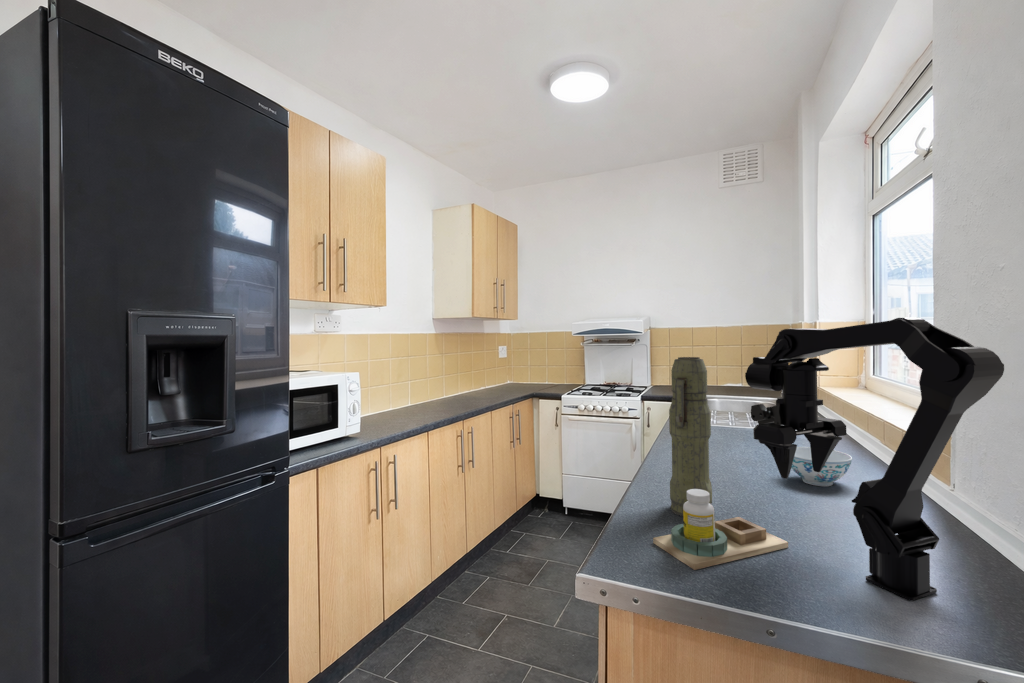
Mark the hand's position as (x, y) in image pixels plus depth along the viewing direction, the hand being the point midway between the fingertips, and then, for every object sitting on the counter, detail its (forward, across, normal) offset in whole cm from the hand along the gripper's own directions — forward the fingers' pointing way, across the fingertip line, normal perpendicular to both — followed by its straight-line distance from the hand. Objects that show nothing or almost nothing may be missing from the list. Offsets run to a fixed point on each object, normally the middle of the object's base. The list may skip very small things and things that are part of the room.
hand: (801, 474), depth 87 cm
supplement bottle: (+12, +20, -6) cm, 24 cm away
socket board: (+13, +15, -6) cm, 21 cm away
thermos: (+13, +8, -21) cm, 26 cm away
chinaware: (+13, -38, -22) cm, 45 cm away
